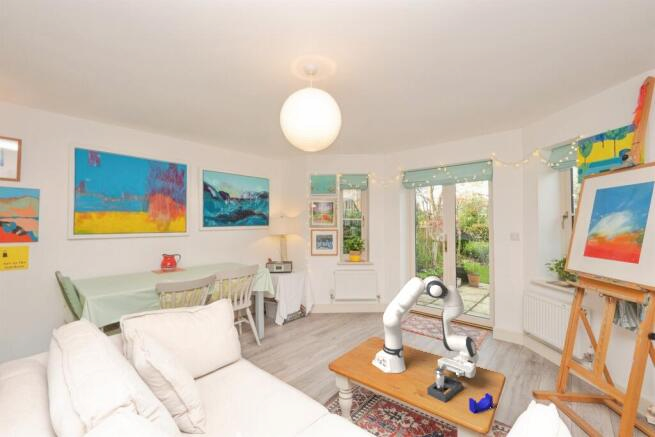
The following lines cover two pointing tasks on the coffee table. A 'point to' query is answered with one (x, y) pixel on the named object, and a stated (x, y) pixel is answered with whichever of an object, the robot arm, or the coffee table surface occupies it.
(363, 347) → the coffee table surface
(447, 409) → the coffee table surface
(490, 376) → the coffee table surface
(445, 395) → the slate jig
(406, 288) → the robot arm
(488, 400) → the cable clip
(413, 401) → the coffee table surface
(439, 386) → the steel bushing
